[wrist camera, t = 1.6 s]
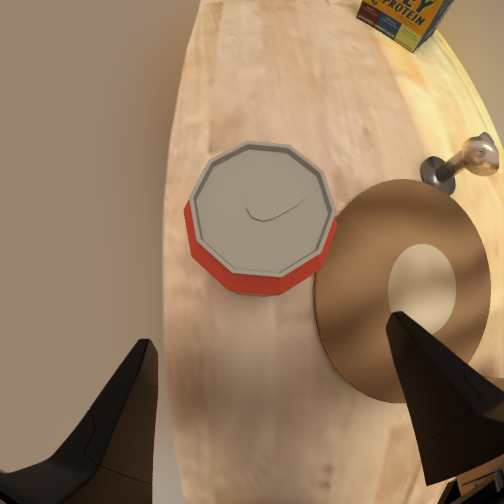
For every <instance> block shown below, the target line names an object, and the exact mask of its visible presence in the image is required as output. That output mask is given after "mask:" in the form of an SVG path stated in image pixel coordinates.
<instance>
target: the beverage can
mask: <svg viewBox="0 0 504 504" xmlns="http://www.w3.org/2000/svg"><path fill="white" fill-rule="evenodd" d="M335 213H336V209H335V206H334V203H333V199H332V196H331V193H330V190H329V187H328V184H327V181H326V178H325V175H324V172H323V171H322V170H321V169H320V168H319V167H317V166H316V165H315V164H314V163H312V162H311V161H310V160H309V159H307V158H306V157H305V156H303V155H302V154H301V153H299V152H298V151H297V150H295V149H294V148H293V147H291V146H290V145H285V144H276V143H266V142H255V141H246V142H244V143H241V144H239V145H237V146H235V147H233V148H231V149H229V150H227V151H225V152H223V153H221V154H219V155H217V156H216V157H214V158H212V159H210V160H209V161H208V163H207V165H206V166H205V168H204V170H203V172H202V174H201V176H200V177H199V179H198V181H197V183H196V185H195V187H194V189H193V191H192V193H191V195H190V196H189V200H188V202H187V204H186V206H185V208H184V216H185V222H186V228H187V234H188V240H189V245H190V251H191V256H192V257H193V258H194V259H195V260H196V261H197V262H198V263H199V264H200V265H201V266H202V267H203V268H205V269H206V270H207V271H208V272H209V273H210V274H211V275H212V276H213V277H214V278H216V279H217V280H218V281H219V282H220V283H221V284H222V285H223V286H224V287H226V288H227V289H228V290H229V291H232V292H234V293H237V294H243V295H254V296H274V295H280V294H282V293H284V292H285V291H287V290H289V289H290V288H292V287H293V286H295V285H297V284H298V283H300V282H301V281H303V280H305V279H306V278H308V277H309V276H311V275H313V274H314V273H316V272H317V271H319V270H320V269H322V267H323V264H324V261H325V259H326V256H327V253H328V250H329V248H330V245H331V242H332V239H333V237H334V234H335V231H336V228H337V225H338V224H337V221H336V218H335Z"/></svg>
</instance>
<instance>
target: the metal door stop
mask: <svg viewBox="0 0 504 504" xmlns="http://www.w3.org/2000/svg"><path fill="white" fill-rule="evenodd" d="M464 169H467V170H469V171H470V172H471V173H473V174H476V175H479V176H490V175H493V174H494V173H496V172H497V170H498V169H499V155H498V150H497V148H496V146H495V144H494V141H493V139H492V138H491V136H490V135H489V134H488V133H486V132H483V133H482V134H481V135H480V136H478V137H471V138H469V139H467V140H466V141H465V142H464V144H463V146H462V150H461V151H459V152H458V153H457V154H455V155H454V156H453V157H452V158H450V159H449V160H448V161H446V162H445V161H443V160H442V159H440V158H438V157H435V156H432V157H429V158H428V159H426V160H425V161H424V162H423V163H422V165H421V177H422V180H423V182H424V183H427V184H429V185H432V186H434V187H436V188H438V189H439V190H441V191H443V192H444V193H446V194H447V195H448V196H450V195H451V194H452V193H453V192H454V190H455V178H454V176H455V175H457V174H458V173H460V172H461V171H463V170H464Z"/></svg>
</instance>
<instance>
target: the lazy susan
mask: <svg viewBox="0 0 504 504" xmlns="http://www.w3.org/2000/svg"><path fill="white" fill-rule="evenodd" d="M336 221H337V224H338V225H337V228H336V231H335V234H334V237H333V239H332V242H331V245H330V248H329V250H328V253H327V256H326V259H325V261H324V264H323V267H322V269H320V270H319V271H317V272H316V274H315V286H314V303H315V314H316V320H317V326H318V330H319V333H320V337H321V340H322V343H323V345H324V347H325V350H326V352H327V354H328V356H329V358H330V359H331V361H332V363H333V364H334V366H335V368H336V369H337V370H338V371H339V372H340V374H341V375H342V376H343V377H344V378H345V379H346V380H347V381H348V382H349V383H350V384H352V385H353V386H354V387H355V388H356V389H358V390H359V391H361V392H363V393H364V394H366V395H368V396H369V397H372V398H374V399H377V400H380V401H384V402H389V403H406V400H405V397H404V394H403V390H402V387H401V384H400V381H399V378H398V375H397V372H396V369H395V366H394V362H393V359H392V354H391V350H390V346H389V342H388V338H387V334H386V324H387V322H388V320H389V317H390V315H391V313H392V312H395V311H403V312H404V313H405V314H407V315H408V316H409V317H411V318H412V319H413V320H414V321H416V322H417V323H418V324H419V325H421V326H422V327H423V328H424V329H426V330H427V331H428V332H429V333H431V334H432V335H433V336H434V337H436V338H437V339H438V340H439V341H441V342H442V343H443V344H444V345H445V346H447V347H448V348H449V349H450V350H451V351H453V352H454V353H455V354H456V355H457V356H459V357H460V358H461V359H462V360H463V361H465V362H466V363H467V364H468V363H469V361H470V360H471V358H472V357H473V355H474V353H475V351H476V349H477V347H478V345H479V343H480V341H481V338H482V336H483V333H484V330H485V327H486V323H487V319H488V314H489V307H490V298H491V281H490V271H489V264H488V260H487V256H486V252H485V249H484V246H483V243H482V240H481V238H480V236H479V234H478V232H477V229H476V228H475V226H474V224H473V223H472V221H471V219H470V218H469V216H468V215H467V214H466V213H465V211H464V210H463V209H462V208H461V207H460V206H459V205H458V203H457V202H456V201H455V200H453V199H452V198H451V197H450V196H448V195H447V194H446V193H444V192H443V191H441V190H439V189H438V188H436V187H434V186H432V185H429V184H427V183H424V182H420V181H416V180H408V179H398V180H390V181H386V182H382V183H380V184H377V185H375V186H372V187H371V188H369V189H367V190H366V191H364V192H362V193H361V194H360V195H359V196H357V197H356V198H355V199H354V200H353V201H352V202H351V203H350V204H349V205H347V207H346V208H345V209H344V210H343V211H342V212H341V214H340V215H339V216H338V217H337V219H336Z"/></svg>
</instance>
